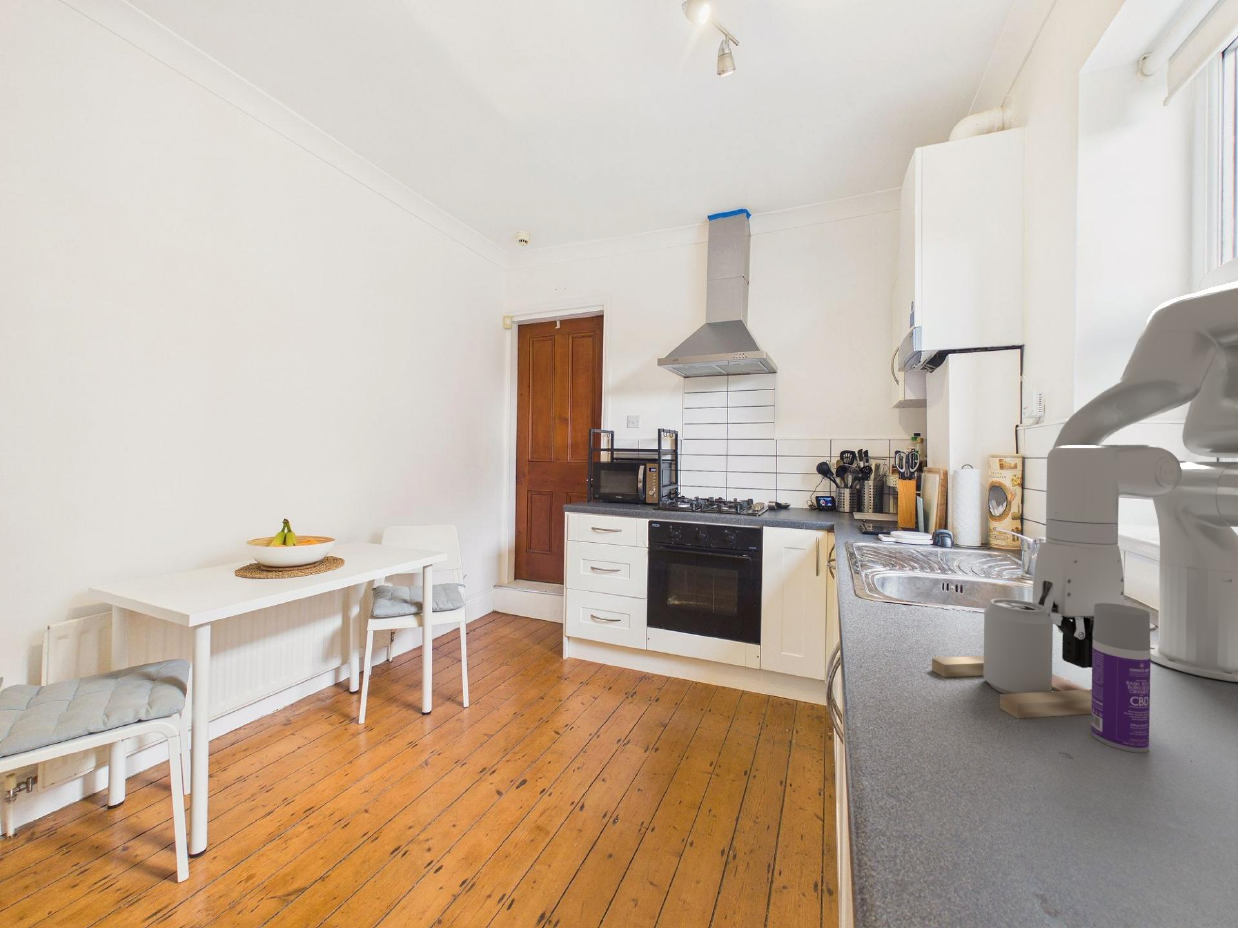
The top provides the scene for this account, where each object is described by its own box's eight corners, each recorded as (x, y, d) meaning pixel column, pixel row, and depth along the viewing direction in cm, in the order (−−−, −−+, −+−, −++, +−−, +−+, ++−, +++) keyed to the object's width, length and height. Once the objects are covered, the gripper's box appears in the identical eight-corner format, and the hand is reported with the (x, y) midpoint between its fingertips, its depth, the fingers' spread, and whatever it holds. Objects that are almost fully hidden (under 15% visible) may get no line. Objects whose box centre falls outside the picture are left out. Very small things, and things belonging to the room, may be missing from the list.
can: (1065, 704, 66) (1066, 612, 66) (1000, 699, 68) (1001, 608, 68) (1031, 680, 74) (1032, 597, 73) (973, 675, 75) (974, 594, 75)
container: (1138, 757, 55) (1141, 617, 54) (1083, 735, 59) (1085, 605, 59) (1156, 745, 57) (1158, 611, 57) (1101, 726, 61) (1103, 600, 61)
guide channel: (1027, 665, 79) (1027, 653, 79) (1131, 711, 65) (1131, 697, 65) (931, 669, 77) (932, 658, 77) (1017, 718, 63) (1017, 703, 63)
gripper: (1099, 529, 76) (1096, 652, 76) (1009, 530, 74) (1007, 655, 75) (1157, 537, 69) (1155, 672, 69) (1059, 538, 67) (1057, 677, 67)
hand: (1078, 663), depth 72 cm, fingers closed
